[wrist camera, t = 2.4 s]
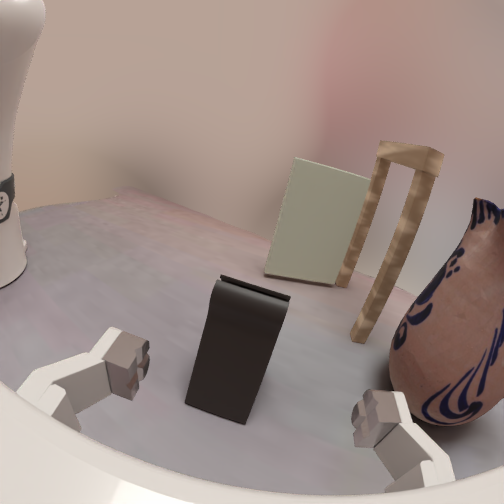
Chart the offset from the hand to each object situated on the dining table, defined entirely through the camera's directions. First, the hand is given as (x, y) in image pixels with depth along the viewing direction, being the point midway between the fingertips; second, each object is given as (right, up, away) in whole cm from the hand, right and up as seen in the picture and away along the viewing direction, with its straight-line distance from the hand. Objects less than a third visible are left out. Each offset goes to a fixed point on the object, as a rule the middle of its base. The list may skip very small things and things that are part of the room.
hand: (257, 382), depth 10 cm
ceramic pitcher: (+24, -15, +19) cm, 34 cm away
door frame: (+16, -5, +37) cm, 41 cm away
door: (+8, 0, +43) cm, 44 cm away
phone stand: (-3, -9, +18) cm, 21 cm away
